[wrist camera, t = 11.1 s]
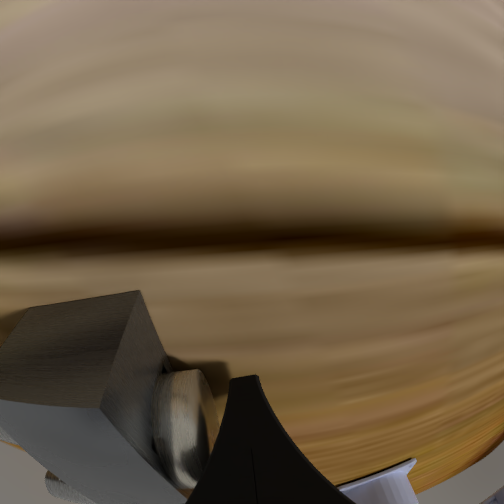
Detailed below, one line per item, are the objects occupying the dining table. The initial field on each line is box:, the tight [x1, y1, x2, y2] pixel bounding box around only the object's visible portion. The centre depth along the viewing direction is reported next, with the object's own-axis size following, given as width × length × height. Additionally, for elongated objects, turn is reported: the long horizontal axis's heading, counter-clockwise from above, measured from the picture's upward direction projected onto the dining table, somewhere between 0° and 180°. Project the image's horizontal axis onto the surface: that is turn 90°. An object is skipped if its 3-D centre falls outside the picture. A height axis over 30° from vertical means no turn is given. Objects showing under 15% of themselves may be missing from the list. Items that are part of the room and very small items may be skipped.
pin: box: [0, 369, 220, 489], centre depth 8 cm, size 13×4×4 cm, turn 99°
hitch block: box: [0, 291, 194, 504], centre depth 10 cm, size 17×5×5 cm, turn 9°
